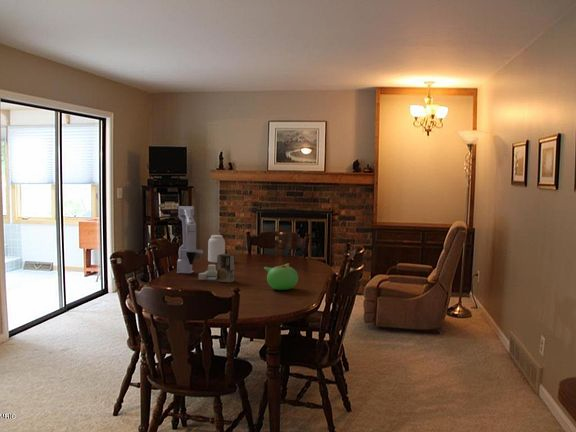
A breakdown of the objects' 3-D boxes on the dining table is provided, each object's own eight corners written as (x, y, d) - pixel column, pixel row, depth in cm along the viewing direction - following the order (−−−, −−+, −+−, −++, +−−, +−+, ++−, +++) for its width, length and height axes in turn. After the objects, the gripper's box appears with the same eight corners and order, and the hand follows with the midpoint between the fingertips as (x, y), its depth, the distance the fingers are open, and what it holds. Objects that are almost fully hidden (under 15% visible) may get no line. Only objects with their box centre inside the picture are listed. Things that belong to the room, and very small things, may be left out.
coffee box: (234, 280, 312) (235, 254, 310) (230, 282, 305) (230, 256, 304) (221, 279, 315) (221, 253, 313) (216, 281, 308) (217, 255, 307)
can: (210, 259, 389) (211, 234, 388) (226, 260, 388) (226, 234, 386) (205, 262, 377) (206, 235, 376) (222, 263, 375) (222, 236, 374)
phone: (205, 281, 311) (205, 279, 310) (209, 278, 318) (209, 276, 318) (215, 281, 310) (215, 279, 310) (218, 279, 318) (218, 277, 318)
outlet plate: (203, 275, 325) (203, 272, 324) (207, 273, 334) (207, 270, 333) (221, 276, 323) (221, 273, 323) (224, 274, 332) (225, 271, 332)
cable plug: (198, 279, 313) (198, 274, 313) (200, 278, 317) (200, 272, 317) (206, 279, 313) (206, 274, 312) (208, 278, 316) (208, 273, 316)
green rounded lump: (272, 293, 278) (273, 267, 277) (261, 287, 294) (262, 262, 293) (302, 291, 285) (302, 265, 284) (290, 285, 301) (290, 261, 300)
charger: (207, 274, 326) (207, 265, 326) (209, 273, 330) (209, 264, 330) (213, 274, 326) (214, 265, 325) (215, 273, 330) (215, 264, 329)
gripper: (177, 243, 311) (177, 264, 312) (200, 244, 309) (200, 265, 310) (181, 241, 318) (181, 262, 319) (204, 242, 316) (203, 264, 317)
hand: (191, 264), depth 315 cm, fingers closed
